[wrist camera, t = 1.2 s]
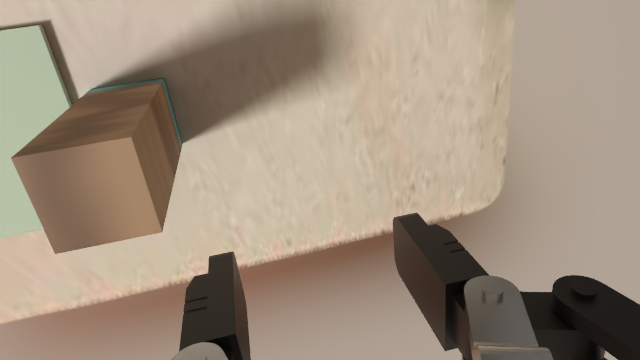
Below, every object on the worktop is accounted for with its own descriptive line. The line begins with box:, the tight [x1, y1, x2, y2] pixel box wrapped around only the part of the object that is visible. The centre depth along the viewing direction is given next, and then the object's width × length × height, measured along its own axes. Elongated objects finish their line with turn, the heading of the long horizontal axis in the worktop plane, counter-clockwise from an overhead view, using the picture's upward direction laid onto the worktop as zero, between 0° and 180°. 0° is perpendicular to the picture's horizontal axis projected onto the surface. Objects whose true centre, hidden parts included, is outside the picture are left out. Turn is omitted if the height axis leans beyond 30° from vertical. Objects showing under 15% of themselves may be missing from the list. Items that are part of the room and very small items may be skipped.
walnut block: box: [11, 78, 182, 254], centre depth 26 cm, size 5×5×13 cm
